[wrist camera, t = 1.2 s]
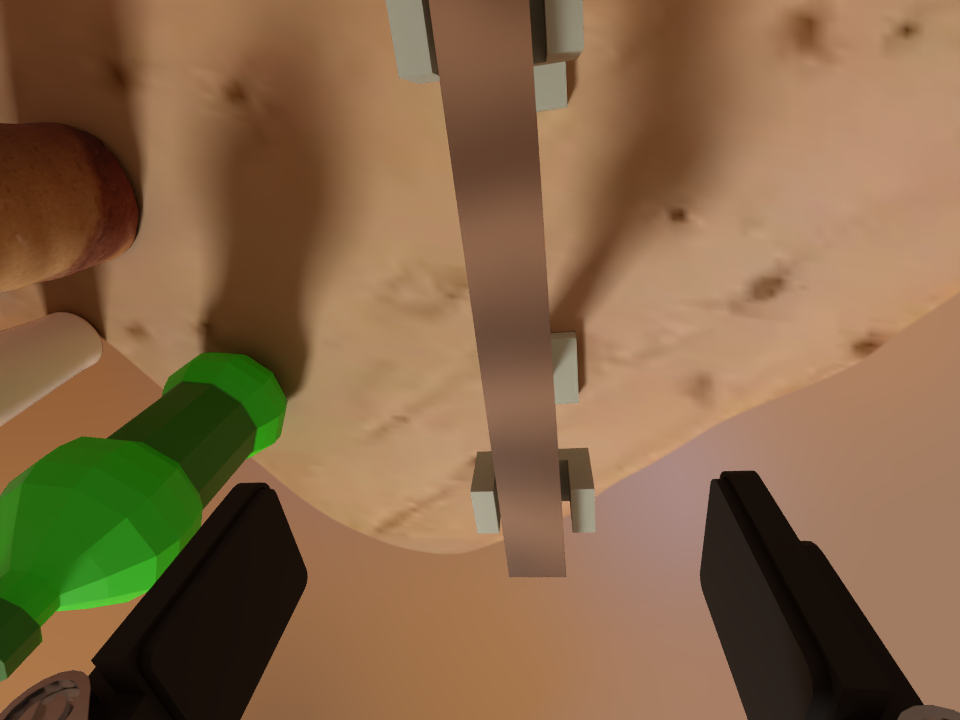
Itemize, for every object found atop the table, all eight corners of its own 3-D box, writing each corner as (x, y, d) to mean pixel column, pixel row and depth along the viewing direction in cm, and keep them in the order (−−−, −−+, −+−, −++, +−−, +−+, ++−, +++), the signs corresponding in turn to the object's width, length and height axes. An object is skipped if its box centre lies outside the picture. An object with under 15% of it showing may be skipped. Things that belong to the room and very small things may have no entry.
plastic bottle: (271, 321, 41) (-44, 565, 18) (322, 422, 45) (115, 717, 23) (175, 345, 43) (-212, 590, 21) (232, 439, 47) (-36, 725, 25)
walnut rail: (437, -72, 17) (411, -123, 13) (523, -90, 16) (519, -147, 13) (512, 520, 29) (509, 576, 25) (562, 519, 29) (566, 577, 25)
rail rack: (447, 15, 30) (361, -86, 15) (561, -5, 29) (590, -135, 14) (496, 399, 42) (475, 552, 27) (577, 395, 41) (601, 552, 26)
